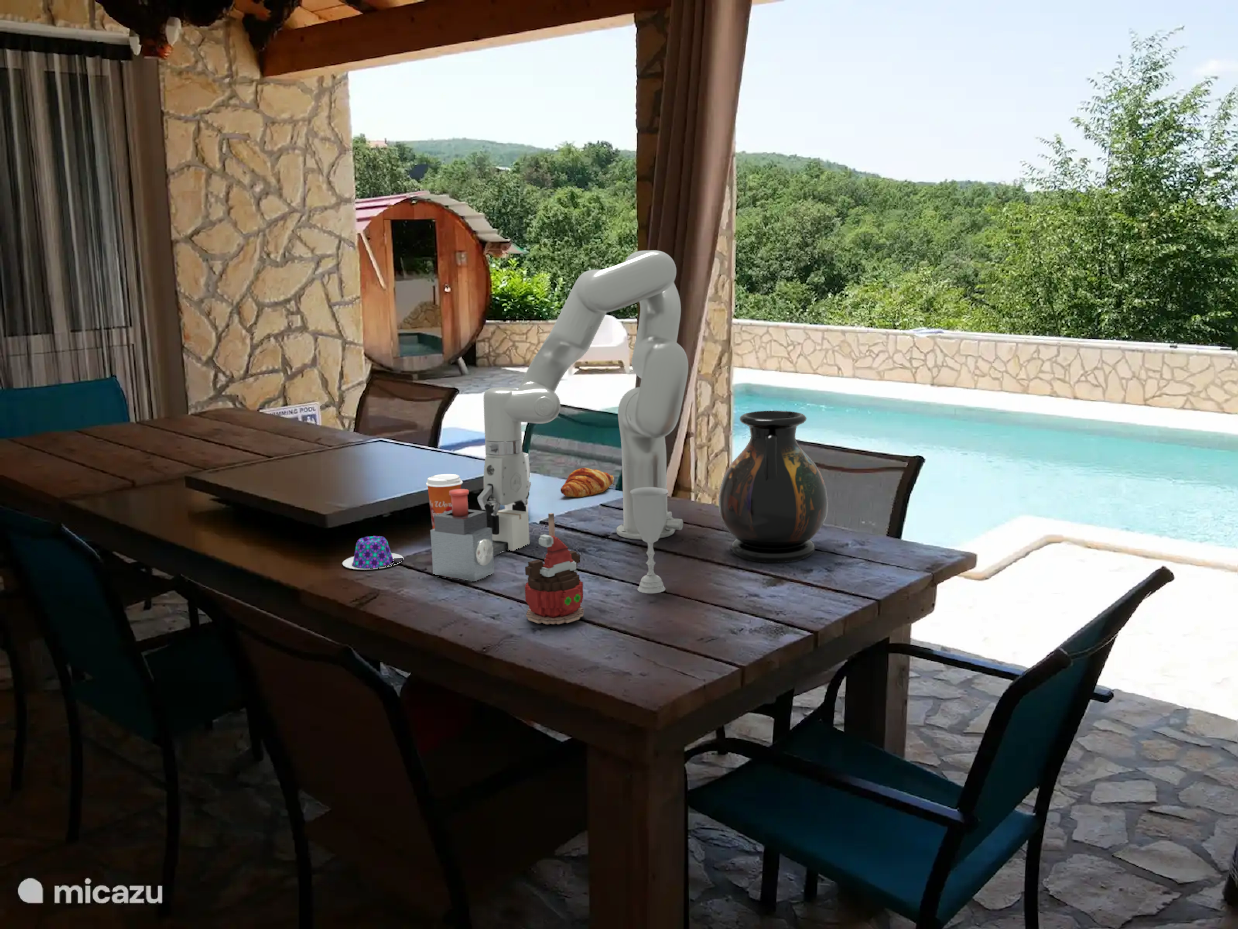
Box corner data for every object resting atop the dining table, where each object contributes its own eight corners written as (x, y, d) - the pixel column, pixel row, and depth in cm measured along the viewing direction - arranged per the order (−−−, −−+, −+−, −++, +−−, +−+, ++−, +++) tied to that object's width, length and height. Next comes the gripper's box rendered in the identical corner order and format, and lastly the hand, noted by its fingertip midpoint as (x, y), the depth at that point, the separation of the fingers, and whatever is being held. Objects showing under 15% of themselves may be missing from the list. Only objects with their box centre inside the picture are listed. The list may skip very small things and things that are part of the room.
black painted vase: (828, 570, 203) (829, 423, 197) (713, 567, 207) (712, 423, 201) (827, 540, 224) (828, 406, 218) (723, 538, 227) (722, 407, 222)
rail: (529, 543, 228) (529, 535, 228) (483, 562, 214) (483, 554, 214) (510, 540, 230) (510, 533, 230) (463, 559, 217) (463, 552, 216)
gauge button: (473, 513, 205) (472, 489, 204) (462, 517, 202) (460, 493, 201) (458, 511, 207) (457, 488, 206) (446, 515, 203) (445, 492, 203)
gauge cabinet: (497, 573, 207) (494, 512, 204) (475, 583, 201) (471, 520, 198) (454, 566, 212) (450, 507, 210) (431, 576, 206) (427, 515, 204)
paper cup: (422, 544, 230) (418, 479, 227) (440, 535, 237) (436, 472, 234) (455, 546, 227) (451, 481, 224) (472, 537, 234) (469, 474, 231)
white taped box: (529, 544, 227) (528, 511, 225) (513, 551, 222) (511, 517, 220) (504, 540, 230) (503, 508, 229) (487, 547, 225) (486, 514, 223)
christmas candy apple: (561, 605, 187) (557, 503, 183) (597, 617, 180) (594, 512, 177) (512, 620, 180) (507, 515, 176) (548, 633, 173) (543, 524, 169)
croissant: (603, 496, 287) (591, 469, 288) (631, 482, 281) (619, 454, 282) (555, 511, 270) (542, 482, 271) (583, 496, 264) (570, 466, 265)
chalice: (676, 592, 192) (674, 493, 188) (639, 597, 190) (637, 497, 186) (662, 581, 199) (660, 485, 195) (627, 585, 197) (624, 489, 193)
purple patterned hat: (337, 561, 219) (335, 536, 218) (395, 553, 224) (394, 528, 223) (349, 576, 209) (347, 550, 208) (410, 567, 213) (408, 541, 212)
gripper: (493, 455, 213) (496, 540, 216) (542, 442, 227) (544, 521, 230) (463, 453, 216) (466, 535, 219) (513, 440, 231) (515, 518, 234)
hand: (506, 528), depth 225 cm, fingers open, 9 cm apart
